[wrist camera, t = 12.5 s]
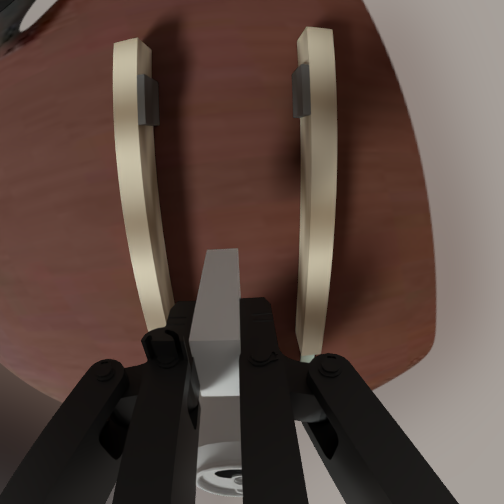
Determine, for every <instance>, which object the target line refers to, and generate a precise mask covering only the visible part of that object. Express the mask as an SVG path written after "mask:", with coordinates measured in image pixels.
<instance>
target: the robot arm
mask: <svg viewBox="0 0 504 504" xmlns="http://www.w3.org/2000/svg"><path fill="white" fill-rule="evenodd" d="M12 1H13V0H0V11H2V10H3V9H4V8H5V7H6V6H7V5H9V4H10V3H11V2H12ZM141 342H142V345H143V348H144V351H145V354H146V356H147V359H148V360H147V362H146V363H144V364H141V365H138V366H133V367H128V368H124V367H123V366H122V364H121V363H120V362H118V361H116V360H113V359H105V360H101V361H99V362H97V363H95V364H94V365H92V366H91V367H90V368H89V370H88V371H87V372H86V373H85V375H84V376H83V377H82V379H81V380H80V381H79V382H78V384H77V385H76V386H75V388H74V389H73V390H72V392H71V393H70V394H69V396H68V397H67V398H66V400H65V401H64V402H63V404H62V405H61V406H60V408H59V409H58V411H57V412H56V413H55V415H54V416H53V417H52V419H51V420H50V422H49V423H48V424H47V426H46V427H45V428H44V430H43V431H42V433H41V434H40V436H39V437H38V439H37V440H36V441H35V443H34V444H33V446H32V447H31V449H30V450H29V451H28V453H27V454H26V456H25V457H24V459H23V461H22V462H21V464H20V465H19V466H18V468H17V470H16V471H15V473H14V474H13V476H12V478H11V479H10V481H9V482H8V484H7V485H6V487H5V488H4V490H3V492H2V493H1V495H0V504H105V503H106V501H107V499H108V497H109V495H110V493H111V491H112V489H113V487H114V485H115V483H116V486H115V492H114V497H113V503H112V504H195V495H196V475H197V458H198V442H199V428H200V415H201V406H200V402H199V392H201V396H240V431H241V463H242V490H243V504H309V503H308V498H307V492H306V487H305V480H304V474H303V468H302V462H301V456H300V450H299V445H298V439H297V434H296V427H295V422H294V420H297V421H301V422H302V424H303V426H304V428H305V430H306V432H307V433H308V435H309V437H310V439H311V441H312V443H313V445H314V447H315V448H316V450H317V452H318V454H319V456H320V458H321V459H322V461H323V463H324V465H325V467H326V468H327V470H328V472H329V474H330V476H331V477H332V479H333V481H334V483H335V485H336V487H337V488H338V490H339V492H340V493H341V495H342V497H343V499H344V501H345V502H346V504H459V503H458V502H457V501H456V499H455V498H454V497H453V496H452V494H451V493H450V492H449V490H448V489H447V488H446V486H445V485H444V484H443V482H442V481H441V480H440V478H439V477H438V476H437V475H436V473H435V472H434V471H433V469H432V468H431V467H430V465H429V464H428V463H427V461H426V460H425V459H424V457H423V456H422V455H421V454H420V452H419V451H418V450H417V448H416V447H415V446H414V445H413V443H412V442H411V441H410V439H409V438H408V437H407V435H406V434H405V433H404V431H403V430H402V429H401V428H400V426H399V425H398V424H397V422H396V421H395V420H394V419H393V418H392V416H391V415H390V413H389V412H388V411H387V410H386V408H385V407H384V406H383V404H382V403H381V402H380V401H379V399H378V398H377V397H376V395H375V394H374V393H373V392H372V390H371V389H370V388H369V386H368V385H367V384H366V383H365V381H364V380H363V379H362V377H361V376H360V375H359V374H358V372H357V371H356V370H355V369H354V367H353V366H352V365H351V363H350V362H349V361H348V360H346V359H345V358H344V357H342V356H340V355H337V354H330V353H327V354H320V355H318V356H316V357H314V358H313V359H312V360H311V362H310V363H307V362H300V361H295V360H292V359H290V358H288V357H286V356H285V355H283V354H282V352H281V351H280V350H279V347H278V343H277V337H276V332H275V326H274V321H273V315H272V309H271V304H270V303H269V302H268V301H267V300H266V299H265V298H264V297H259V298H241V296H240V278H239V260H238V248H237V249H215V250H207V253H206V257H205V262H204V267H203V271H202V276H201V281H200V286H199V290H198V295H197V300H196V301H178V302H177V303H176V304H175V305H174V306H173V307H172V308H171V309H170V312H169V315H168V319H167V322H166V326H165V327H161V328H156V329H154V330H151V331H149V332H148V333H147V334H145V335H144V337H143V338H142V340H141ZM116 481H117V482H116Z"/></svg>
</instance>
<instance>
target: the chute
mask: <svg viewBox="0 0 504 504" xmlns="http://www.w3.org/2000/svg"><path fill="white" fill-rule="evenodd" d="M297 50H298V68H297V69H296V70H295V71H294V73H293V74H292V91H293V118H300V137H301V200H300V245H299V272H298V293H297V311H296V327H295V333H296V337H297V341H298V345H299V348H300V352H301V356H300V362H307V363H310V362H311V360H312V359H313V358H314V355H316V354H321V349H322V342H323V335H324V328H325V320H326V312H327V304H328V295H329V286H330V276H331V265H332V253H333V241H334V226H335V208H336V184H337V95H336V72H335V56H334V43H333V31H332V29H325V28H316V27H306V29H305V30H304V32H303V33H302V35H301V36H300V38H299V39H298V41H297ZM113 110H114V131H115V146H116V158H117V168H118V178H119V186H120V194H121V202H122V209H123V216H124V222H125V228H126V234H127V240H128V245H129V251H130V256H131V261H132V266H133V271H134V275H135V280H136V284H137V289H138V293H139V297H140V301H141V305H142V309H143V313H144V317H145V321H146V324H147V328H148V332H149V331H151V330H154V329H156V328H161V327H165V326H166V322H167V319H168V315H169V312H170V309H171V308H172V307H173V306H174V305H175V303H174V298H173V292H172V286H171V281H170V275H169V269H168V262H167V256H166V249H165V242H164V235H163V228H162V220H161V212H160V203H159V194H158V184H157V173H156V162H155V148H154V133H153V126H157V125H160V122H159V95H158V82H157V81H155V80H154V79H152V50H151V49H150V48H149V47H148V46H147V45H145V44H144V43H143V42H142V41H141V40H140V39H139V38H133V39H129V40H125V41H121V42H117V43H114V54H113Z"/></svg>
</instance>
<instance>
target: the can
mask: <svg viewBox="0 0 504 504" xmlns="http://www.w3.org/2000/svg"><path fill="white" fill-rule="evenodd" d="M199 402H200V406H201V415H200V428H199V442H198V458H197V475H196V486H197V487H199V488H200V489H202V490H204V491H207V492H210V493H212V494H217V495H223V496H232V497H243V490H242V463H241V431H240V396H201V392H199Z"/></svg>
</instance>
